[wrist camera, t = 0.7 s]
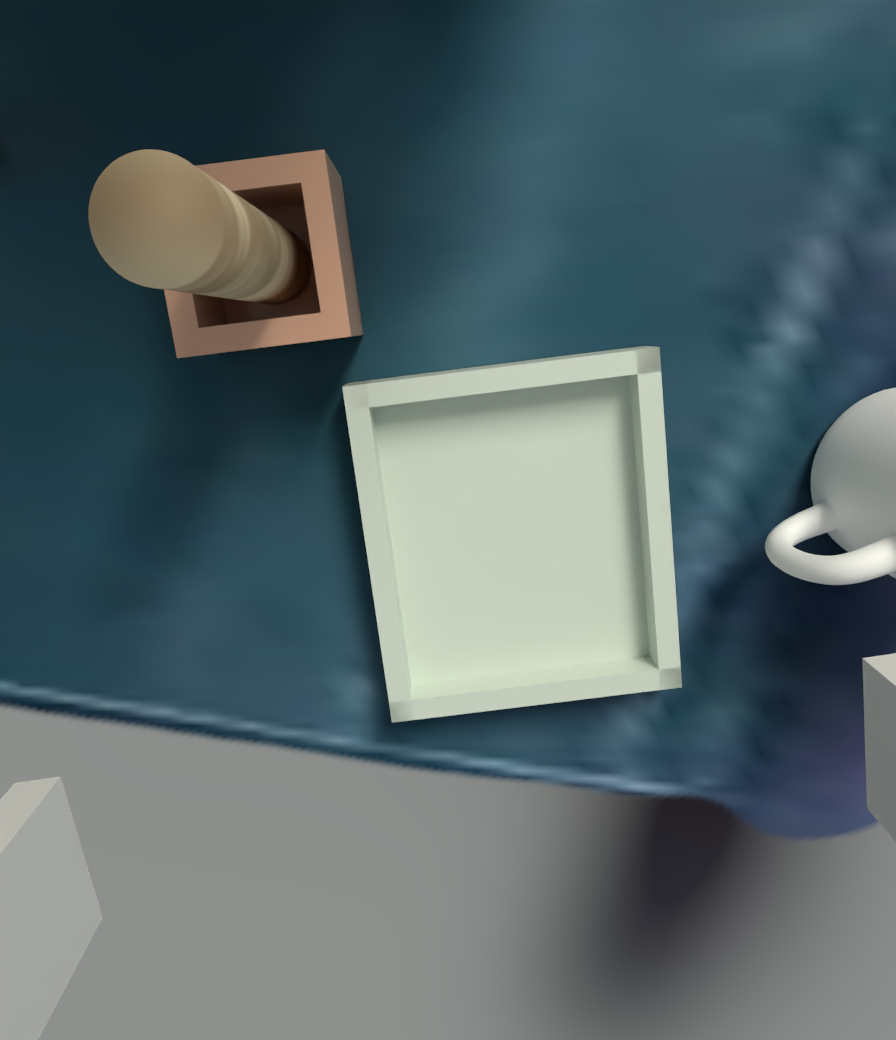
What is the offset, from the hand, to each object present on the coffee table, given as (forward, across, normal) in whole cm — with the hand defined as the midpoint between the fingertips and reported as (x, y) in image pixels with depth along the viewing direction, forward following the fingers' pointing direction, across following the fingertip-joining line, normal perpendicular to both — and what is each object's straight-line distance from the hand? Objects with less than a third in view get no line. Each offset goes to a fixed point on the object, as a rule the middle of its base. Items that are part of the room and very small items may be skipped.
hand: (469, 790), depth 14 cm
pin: (+26, -6, +10) cm, 28 cm away
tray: (+26, +3, -3) cm, 27 cm away
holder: (+27, -6, +10) cm, 29 cm away
